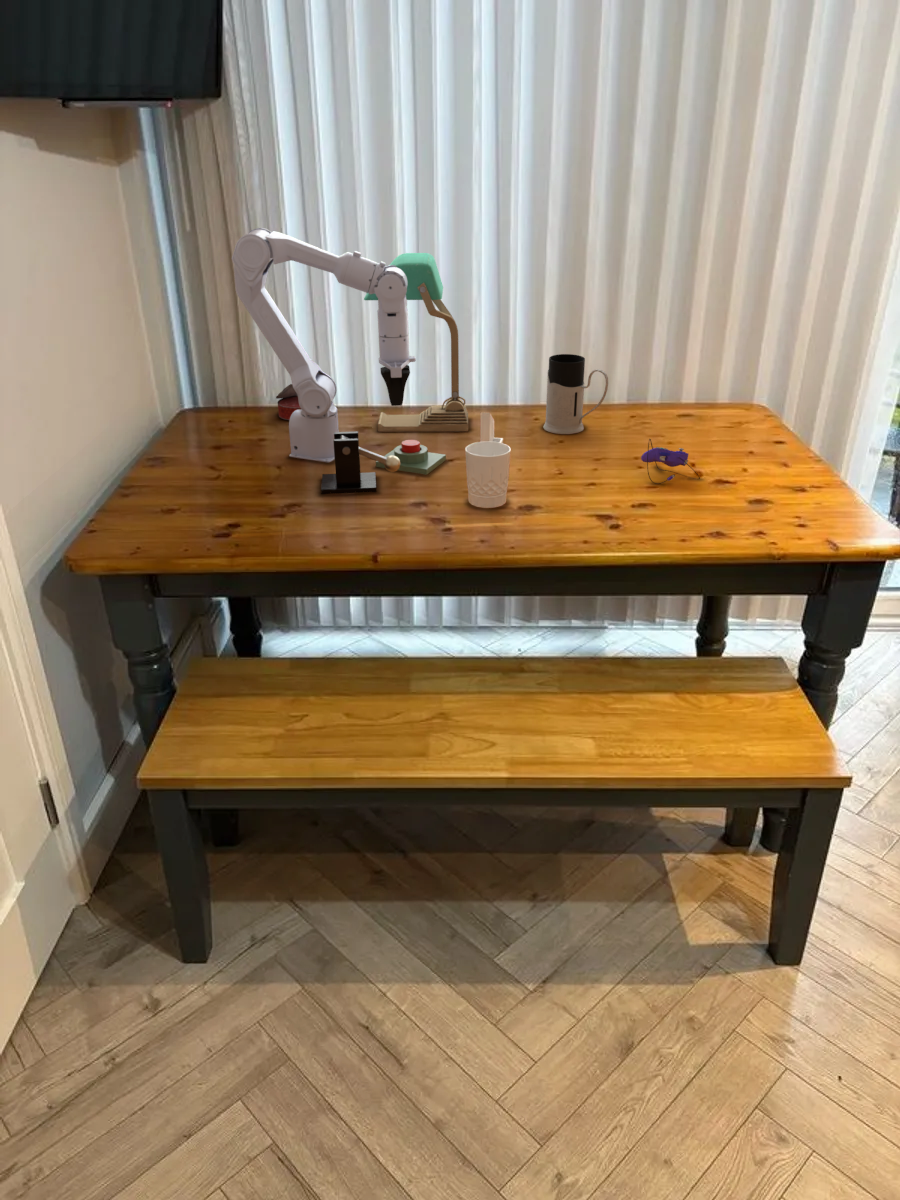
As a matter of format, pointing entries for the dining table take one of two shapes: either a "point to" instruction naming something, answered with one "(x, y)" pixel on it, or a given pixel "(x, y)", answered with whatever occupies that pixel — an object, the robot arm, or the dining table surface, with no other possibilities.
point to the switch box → (416, 460)
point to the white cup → (487, 473)
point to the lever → (380, 458)
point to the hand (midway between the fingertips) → (396, 404)
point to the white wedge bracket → (487, 428)
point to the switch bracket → (347, 468)
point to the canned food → (287, 402)
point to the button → (410, 446)
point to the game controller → (666, 458)
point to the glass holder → (567, 394)
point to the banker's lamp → (453, 414)
